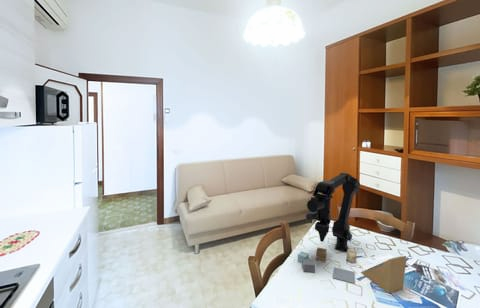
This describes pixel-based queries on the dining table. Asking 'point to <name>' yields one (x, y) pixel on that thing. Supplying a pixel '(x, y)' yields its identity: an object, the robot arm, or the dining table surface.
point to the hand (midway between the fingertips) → (322, 237)
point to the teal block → (302, 256)
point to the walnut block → (321, 254)
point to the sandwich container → (388, 274)
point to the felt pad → (344, 275)
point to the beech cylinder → (351, 256)
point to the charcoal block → (308, 265)
